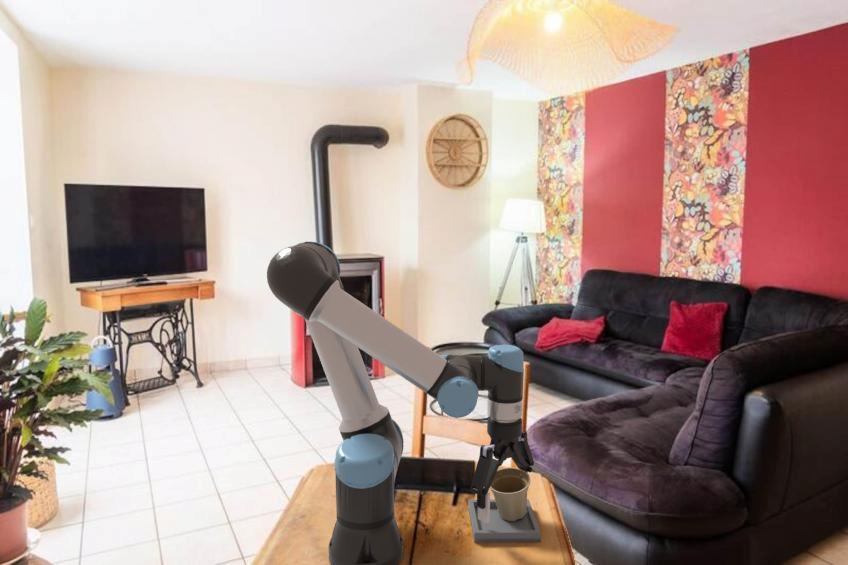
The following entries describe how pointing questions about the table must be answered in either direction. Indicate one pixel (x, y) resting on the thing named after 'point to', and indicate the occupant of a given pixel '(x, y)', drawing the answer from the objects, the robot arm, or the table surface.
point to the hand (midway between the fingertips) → (502, 509)
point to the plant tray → (503, 526)
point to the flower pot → (511, 492)
